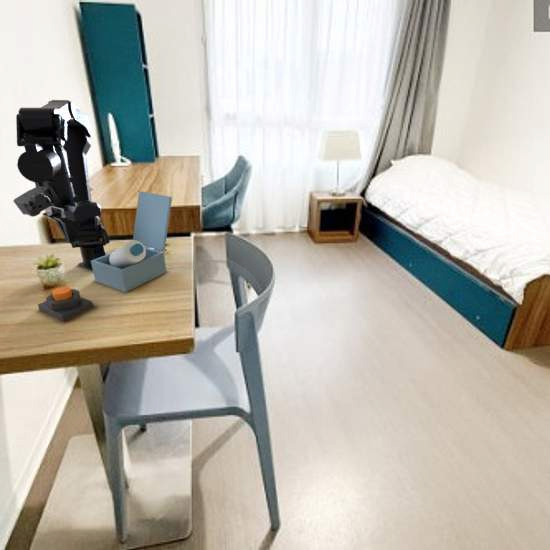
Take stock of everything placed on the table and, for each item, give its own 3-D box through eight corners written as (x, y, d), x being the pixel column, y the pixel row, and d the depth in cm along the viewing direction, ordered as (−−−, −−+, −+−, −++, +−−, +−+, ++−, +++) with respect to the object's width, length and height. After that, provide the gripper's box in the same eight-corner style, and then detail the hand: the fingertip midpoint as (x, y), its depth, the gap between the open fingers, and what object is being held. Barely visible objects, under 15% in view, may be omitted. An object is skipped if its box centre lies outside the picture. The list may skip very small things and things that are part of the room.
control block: (39, 311, 81) (35, 297, 80) (69, 297, 87) (65, 284, 85) (64, 322, 77) (60, 308, 76) (93, 307, 83) (90, 294, 81)
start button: (50, 298, 80) (48, 291, 79) (66, 291, 83) (64, 285, 82) (60, 302, 79) (58, 295, 78) (75, 295, 81) (74, 288, 81)
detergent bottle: (104, 255, 95) (122, 242, 86) (123, 247, 99) (142, 234, 89) (115, 274, 96) (134, 263, 86) (133, 265, 99) (153, 254, 90)
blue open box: (125, 292, 90) (121, 271, 87) (95, 281, 95) (90, 260, 92) (166, 272, 100) (163, 252, 98) (136, 263, 105) (133, 244, 103)
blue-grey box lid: (170, 196, 95) (172, 197, 96) (138, 190, 100) (141, 191, 101) (162, 250, 97) (164, 250, 98) (132, 242, 102) (134, 242, 103)
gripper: (-12, 174, 75) (11, 245, 82) (41, 185, 66) (62, 263, 73) (42, 166, 83) (59, 231, 90) (95, 175, 75) (109, 246, 82)
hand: (71, 242), depth 84 cm, fingers closed
